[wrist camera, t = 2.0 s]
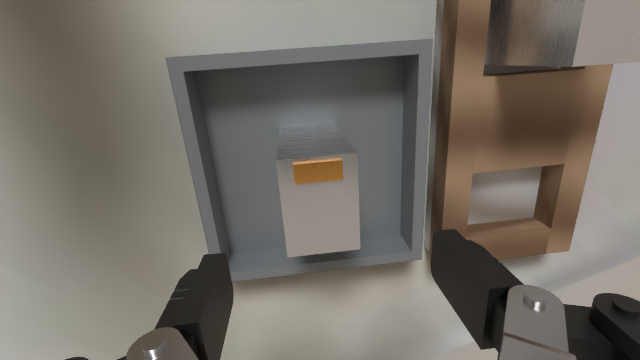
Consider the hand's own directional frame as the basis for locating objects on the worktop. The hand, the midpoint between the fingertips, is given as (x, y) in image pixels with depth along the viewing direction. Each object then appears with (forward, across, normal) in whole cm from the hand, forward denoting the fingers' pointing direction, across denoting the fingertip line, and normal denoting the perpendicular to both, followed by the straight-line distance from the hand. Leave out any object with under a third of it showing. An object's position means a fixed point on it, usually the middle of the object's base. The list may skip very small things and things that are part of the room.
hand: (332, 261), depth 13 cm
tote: (+13, 0, 0) cm, 13 cm away
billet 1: (+12, 0, 0) cm, 13 cm away
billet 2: (+12, -15, -8) cm, 21 cm away
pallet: (+13, -15, -2) cm, 20 cm away
